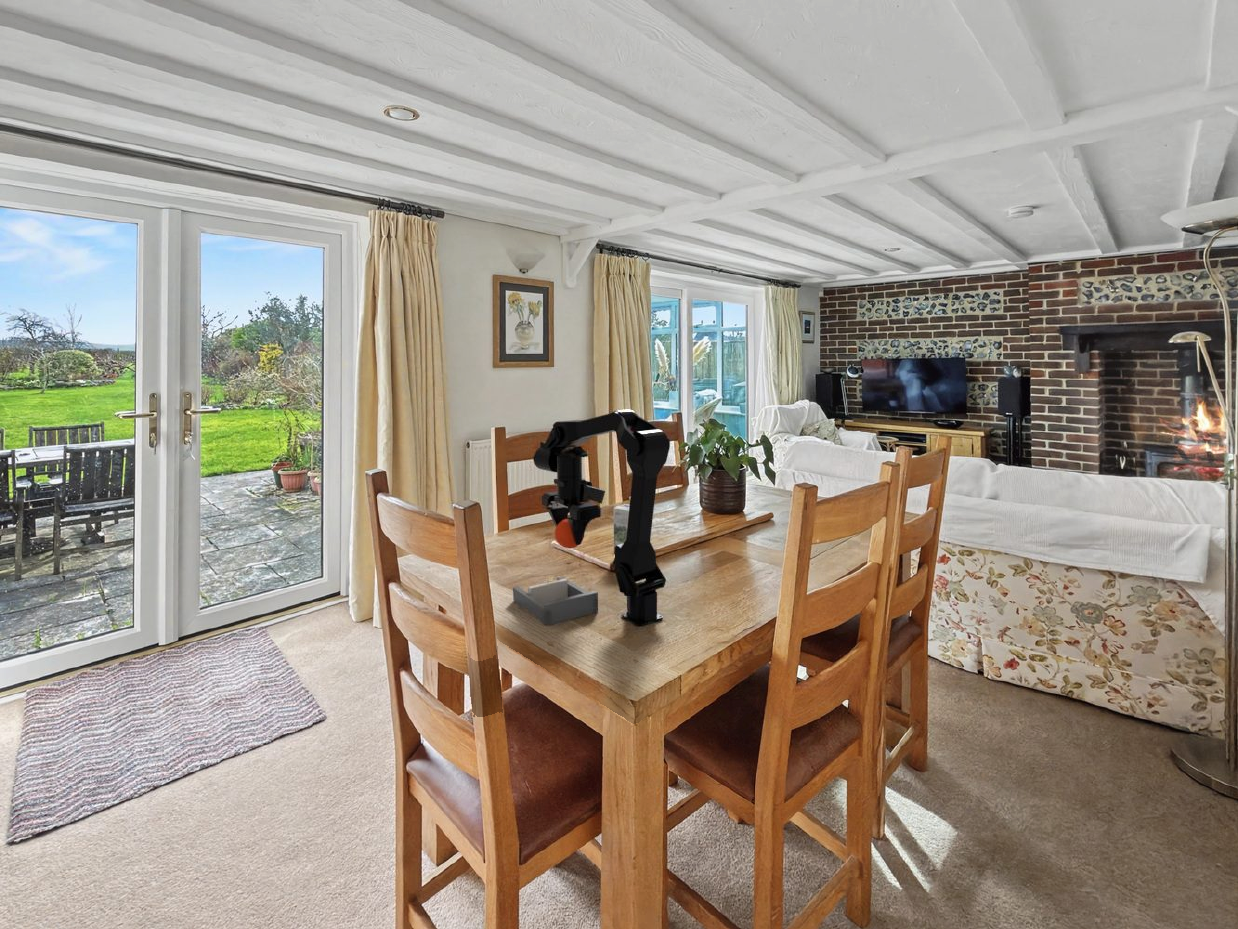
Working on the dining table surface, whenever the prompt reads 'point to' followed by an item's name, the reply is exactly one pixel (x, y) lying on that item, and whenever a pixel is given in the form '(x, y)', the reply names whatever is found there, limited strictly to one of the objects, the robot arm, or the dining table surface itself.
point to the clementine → (565, 535)
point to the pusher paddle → (549, 591)
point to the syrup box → (620, 524)
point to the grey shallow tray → (559, 604)
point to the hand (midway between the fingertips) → (570, 540)
